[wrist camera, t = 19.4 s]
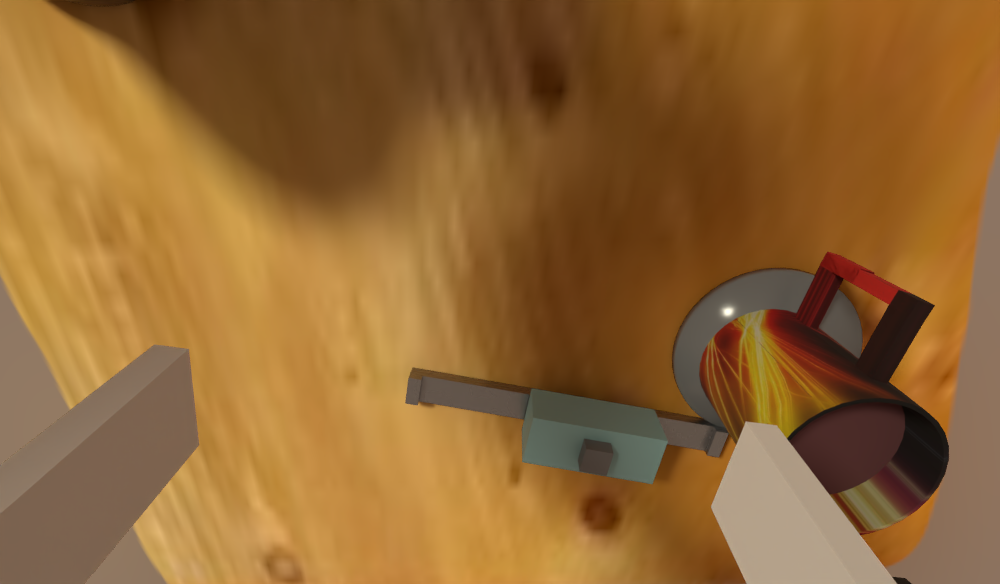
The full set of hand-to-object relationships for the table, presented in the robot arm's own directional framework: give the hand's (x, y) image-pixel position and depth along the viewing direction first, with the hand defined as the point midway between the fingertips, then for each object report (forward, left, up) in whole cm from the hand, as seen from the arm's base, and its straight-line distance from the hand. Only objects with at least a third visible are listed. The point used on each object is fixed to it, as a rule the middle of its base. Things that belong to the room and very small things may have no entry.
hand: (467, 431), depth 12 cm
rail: (+16, +8, -26) cm, 32 cm away
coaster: (+8, +22, -26) cm, 35 cm away
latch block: (+16, +10, -25) cm, 31 cm away
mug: (+6, +21, -26) cm, 34 cm away
